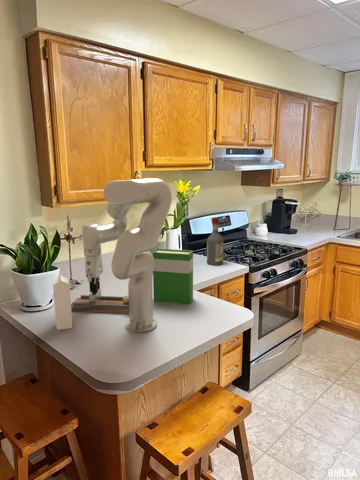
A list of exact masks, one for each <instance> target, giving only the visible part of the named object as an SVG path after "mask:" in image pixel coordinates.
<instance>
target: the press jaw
mask: <svg viewBox="0 0 360 480" xmlns="http://www.w3.org/2000/svg"><path fill="white" fill-rule="evenodd" d="M93 280H94V279H93ZM96 284H97V292H90V293H89V294H88V295H89V303H94V304H98V303H99V302H100V301H101V300H102V299H101V296H102V289H101V288H100V289H98V280H97V278H96Z"/></svg>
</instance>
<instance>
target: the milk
mask: <svg viewBox="0 0 360 480" xmlns="http://www.w3.org/2000/svg"><path fill="white" fill-rule="evenodd" d="M70 286H71V285H70V279H69V278H68V277H65V276H63V275H62V273H60V276H58V277H57V278H56V279H54V280H53V284H52V289H53V301H54V314H55V324H56V325H55V326H56V330H57V331H61V330H67V329H69V330H70V329H73V314H72V313H73V312H72V310H71V304H72V300H71V289H70V288H71V287H70Z"/></svg>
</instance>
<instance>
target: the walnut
mask: <svg viewBox="0 0 360 480" xmlns="http://www.w3.org/2000/svg"><path fill="white" fill-rule="evenodd" d="M122 297H123V300H122V301H123V303H124V304H125V305H128V304H129V295H125V296H122Z"/></svg>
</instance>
